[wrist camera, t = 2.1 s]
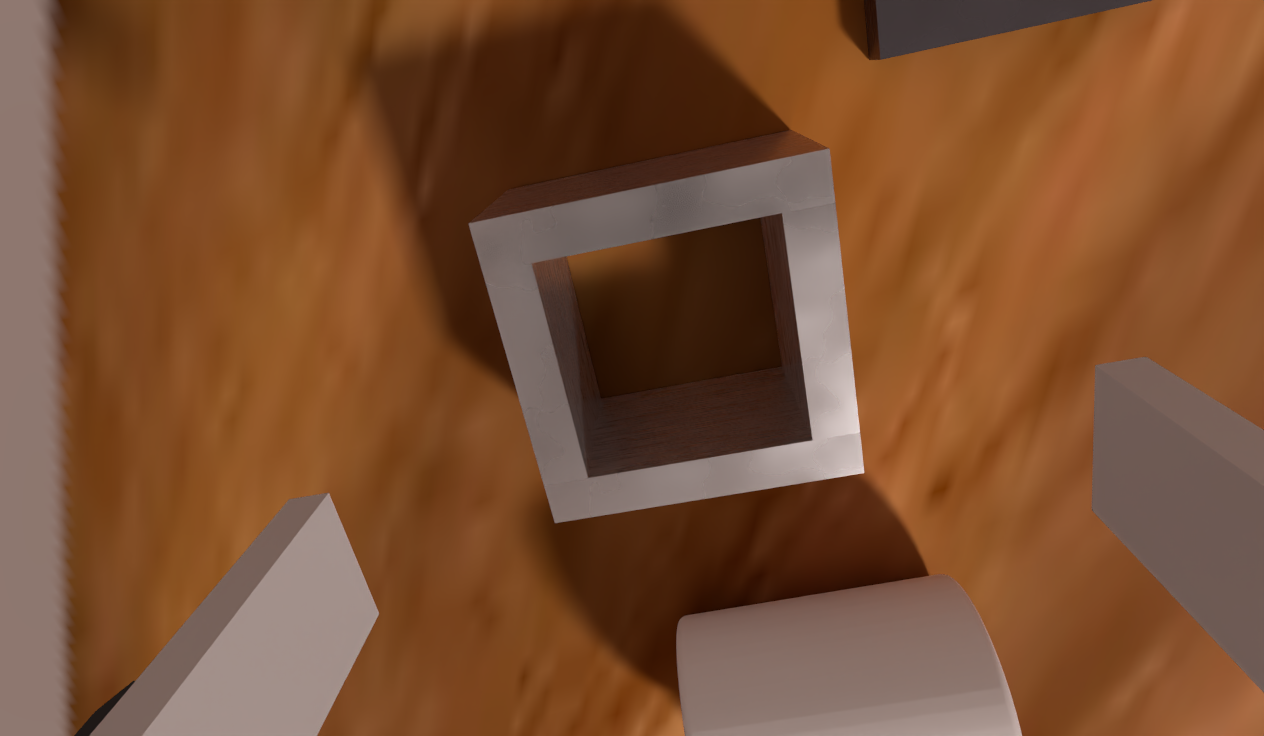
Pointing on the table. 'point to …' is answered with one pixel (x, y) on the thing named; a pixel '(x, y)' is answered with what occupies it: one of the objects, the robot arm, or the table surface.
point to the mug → (845, 666)
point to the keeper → (962, 20)
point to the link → (693, 412)
